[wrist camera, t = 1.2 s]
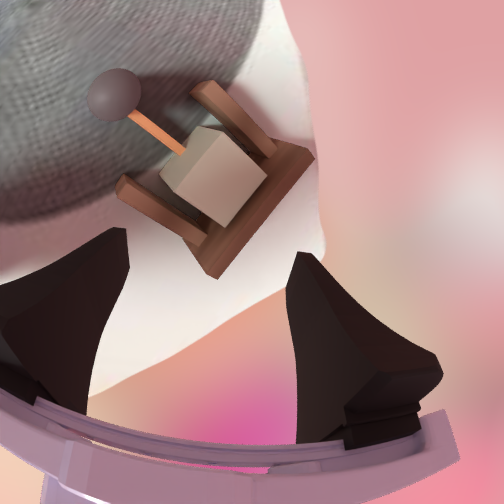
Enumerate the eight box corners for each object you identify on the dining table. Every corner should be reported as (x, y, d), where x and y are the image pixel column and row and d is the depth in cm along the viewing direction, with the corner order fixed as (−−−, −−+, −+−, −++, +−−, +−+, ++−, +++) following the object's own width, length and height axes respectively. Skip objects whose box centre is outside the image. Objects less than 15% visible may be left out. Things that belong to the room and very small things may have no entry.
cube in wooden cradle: (109, 194, 19) (112, 223, 14) (205, 76, 18) (240, 68, 13) (191, 243, 25) (217, 279, 21) (272, 144, 24) (315, 158, 20)
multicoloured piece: (76, 116, 14) (65, 119, 10) (120, 62, 14) (126, 44, 10) (201, 204, 24) (230, 233, 19) (236, 161, 23) (275, 179, 19)
